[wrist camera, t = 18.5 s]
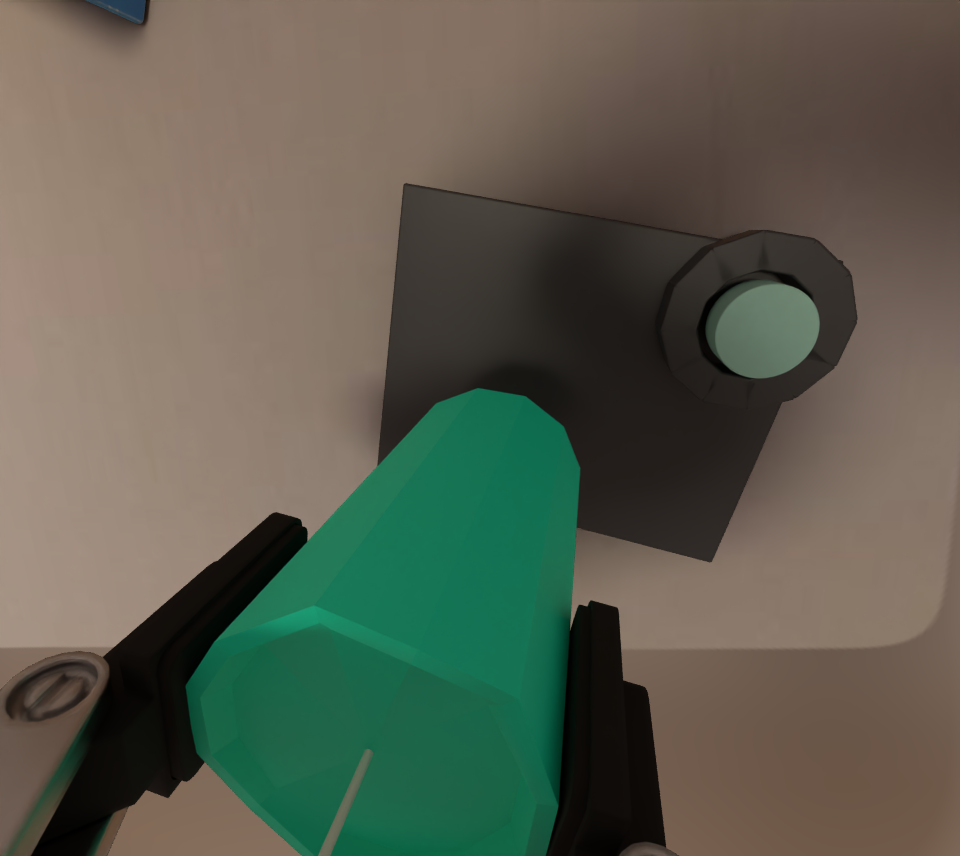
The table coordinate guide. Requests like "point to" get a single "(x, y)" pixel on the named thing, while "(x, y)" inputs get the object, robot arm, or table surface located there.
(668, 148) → the table surface
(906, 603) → the table surface
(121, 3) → the ink box
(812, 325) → the button
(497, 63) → the table surface
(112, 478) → the table surface
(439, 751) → the candle
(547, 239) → the scale
